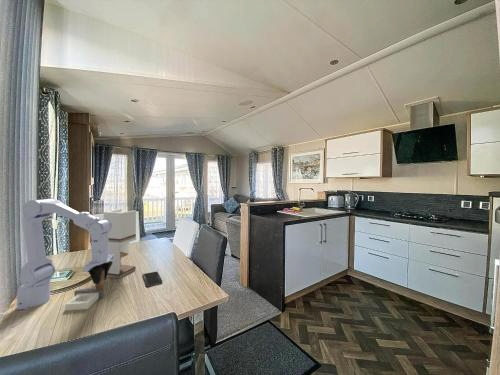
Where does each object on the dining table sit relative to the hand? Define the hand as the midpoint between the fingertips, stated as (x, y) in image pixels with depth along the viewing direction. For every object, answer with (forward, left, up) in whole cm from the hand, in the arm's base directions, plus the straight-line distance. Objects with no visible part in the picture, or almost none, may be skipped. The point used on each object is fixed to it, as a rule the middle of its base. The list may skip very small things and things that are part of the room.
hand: (99, 281), depth 89 cm
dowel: (0, 0, -3) cm, 3 cm away
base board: (-6, -3, -10) cm, 12 cm away
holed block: (-6, 0, -9) cm, 11 cm away
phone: (+15, +22, -11) cm, 29 cm away
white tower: (-5, +32, -10) cm, 34 cm away
